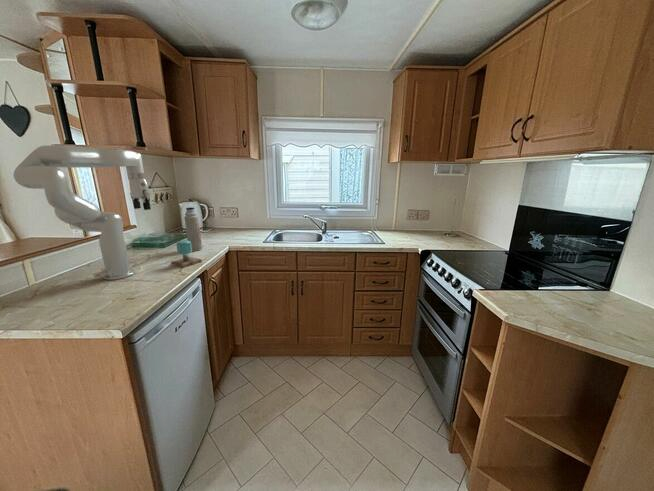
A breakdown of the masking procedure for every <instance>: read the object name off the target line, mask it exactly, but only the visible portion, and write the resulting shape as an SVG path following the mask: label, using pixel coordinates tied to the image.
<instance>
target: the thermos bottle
mask: <svg viewBox="0 0 654 491" xmlns="http://www.w3.org/2000/svg"><path fill="white" fill-rule="evenodd" d="M185 211H186V212H185V213H184V215H185V216H184V224H185V230H186V231H185V232H186V239H187V241H190V242H191V246H192V252H199V251H202V250H203V244H202V237H201V229H200V220H199V215H198V214H197V212H196V210H195V207H185Z"/></svg>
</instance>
